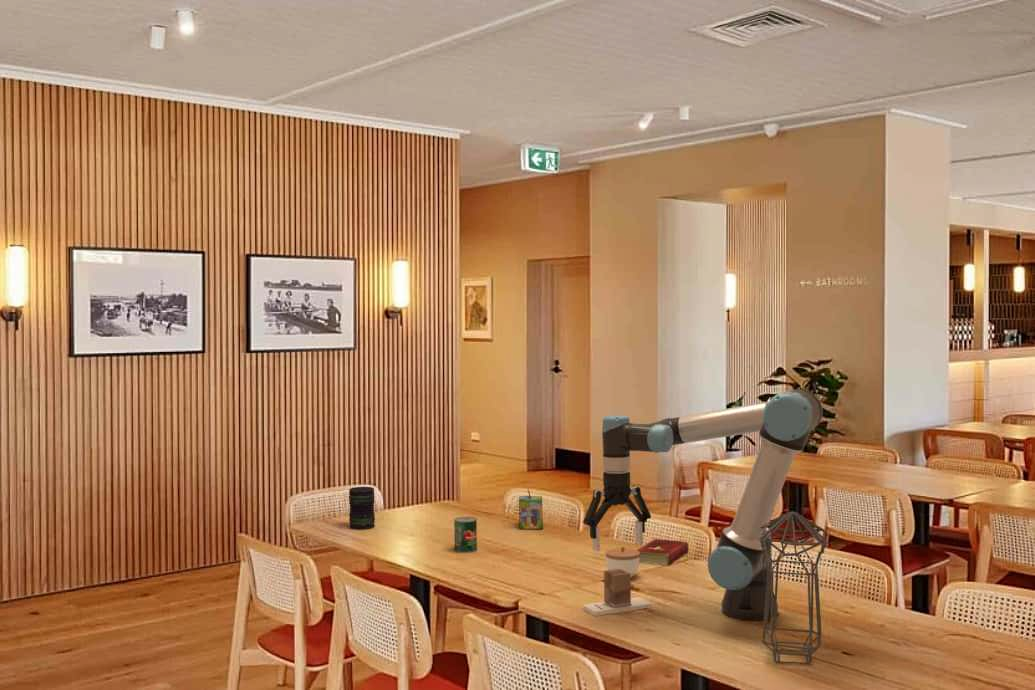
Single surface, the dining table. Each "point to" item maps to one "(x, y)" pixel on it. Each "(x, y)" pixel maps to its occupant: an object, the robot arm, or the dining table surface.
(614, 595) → the eraser block
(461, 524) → the canned tomato
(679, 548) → the hardcover book
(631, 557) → the lidded jar
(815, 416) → the robot arm
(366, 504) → the storage jar
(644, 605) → the board
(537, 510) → the green juice box
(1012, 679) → the dining table surface
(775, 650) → the geometric lantern
